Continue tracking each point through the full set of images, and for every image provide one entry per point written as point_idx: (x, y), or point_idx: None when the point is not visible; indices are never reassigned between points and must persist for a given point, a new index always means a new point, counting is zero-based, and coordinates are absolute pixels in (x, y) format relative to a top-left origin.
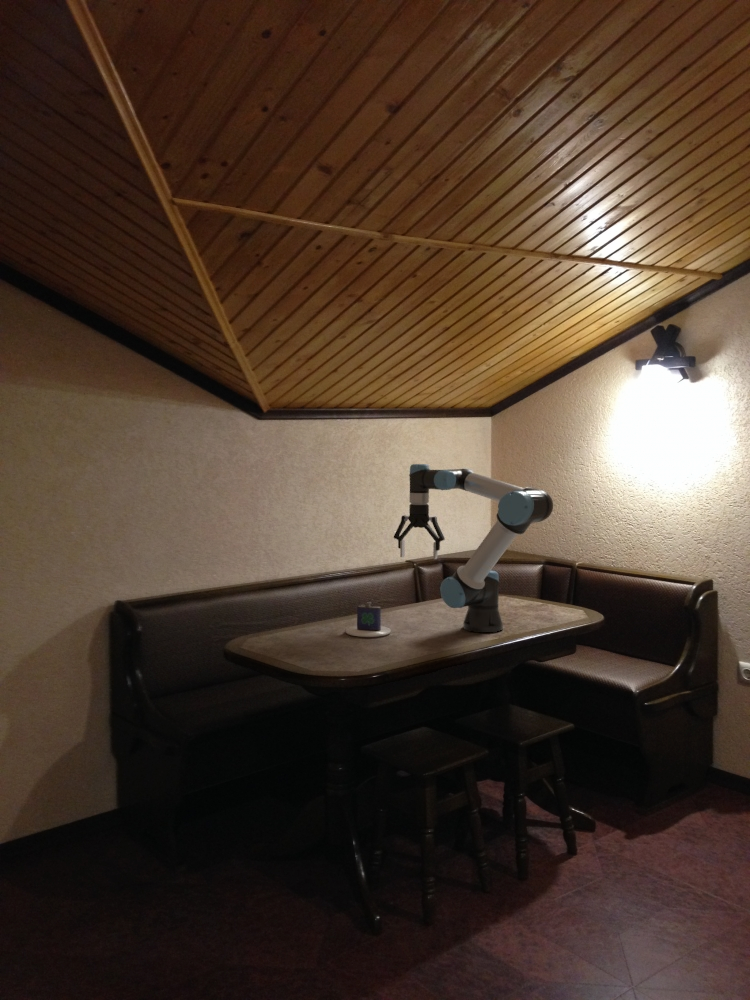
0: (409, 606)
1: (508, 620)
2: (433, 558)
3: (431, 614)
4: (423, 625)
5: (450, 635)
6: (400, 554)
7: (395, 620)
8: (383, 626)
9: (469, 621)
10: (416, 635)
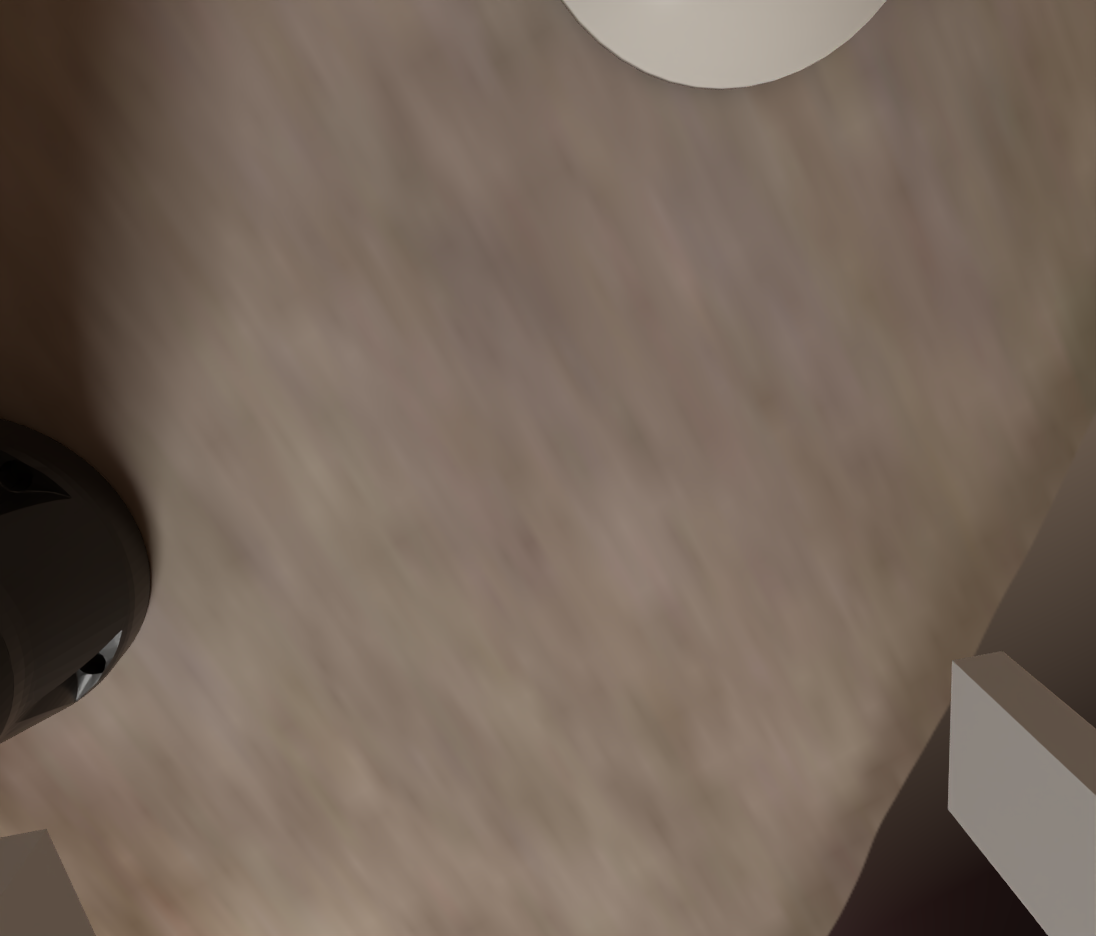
0: (833, 880)
1: None
2: (32, 845)
3: (585, 763)
4: (452, 419)
5: (48, 201)
6: (1053, 695)
7: (732, 456)
8: (677, 80)
9: (5, 497)
10: (298, 28)
